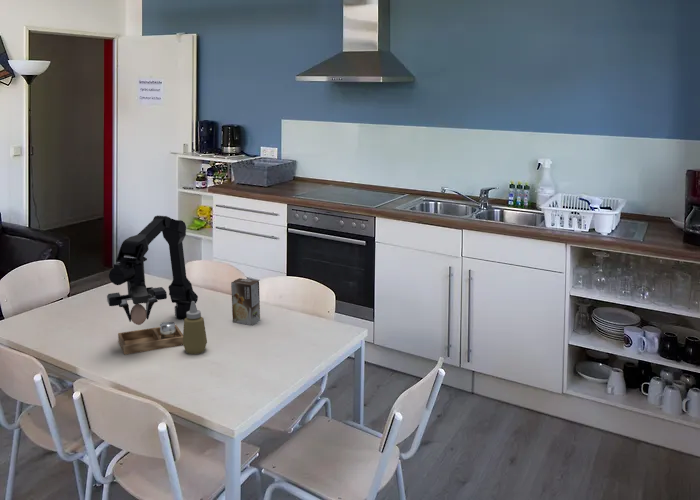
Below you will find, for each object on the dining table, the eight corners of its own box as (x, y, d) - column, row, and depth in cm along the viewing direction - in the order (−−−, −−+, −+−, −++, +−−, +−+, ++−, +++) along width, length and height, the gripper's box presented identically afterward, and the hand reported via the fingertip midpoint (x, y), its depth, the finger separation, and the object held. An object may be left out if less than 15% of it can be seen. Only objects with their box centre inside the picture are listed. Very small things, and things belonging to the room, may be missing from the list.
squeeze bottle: (185, 347, 225) (182, 298, 220) (209, 347, 225) (207, 297, 221) (181, 357, 217) (178, 305, 213) (205, 356, 218) (203, 305, 213)
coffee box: (261, 320, 252) (260, 280, 248) (252, 326, 246) (251, 285, 242) (240, 317, 255) (239, 277, 251) (231, 322, 249) (230, 282, 245)
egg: (134, 328, 220) (132, 307, 218) (128, 323, 224) (127, 303, 222) (149, 325, 223) (148, 304, 221) (144, 320, 227) (142, 300, 225)
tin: (174, 336, 233) (173, 320, 231) (177, 341, 228) (176, 325, 227) (159, 338, 231) (158, 322, 229) (162, 343, 226) (161, 327, 225)
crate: (176, 333, 237) (175, 324, 236) (184, 346, 226) (184, 336, 225) (118, 342, 228) (118, 333, 227) (124, 356, 217) (123, 346, 216)
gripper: (109, 286, 208) (113, 332, 212) (169, 279, 216) (171, 323, 220) (105, 277, 218) (108, 321, 222) (162, 270, 226) (164, 313, 230)
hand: (138, 320), depth 223 cm, fingers closed on egg, 5 cm apart
